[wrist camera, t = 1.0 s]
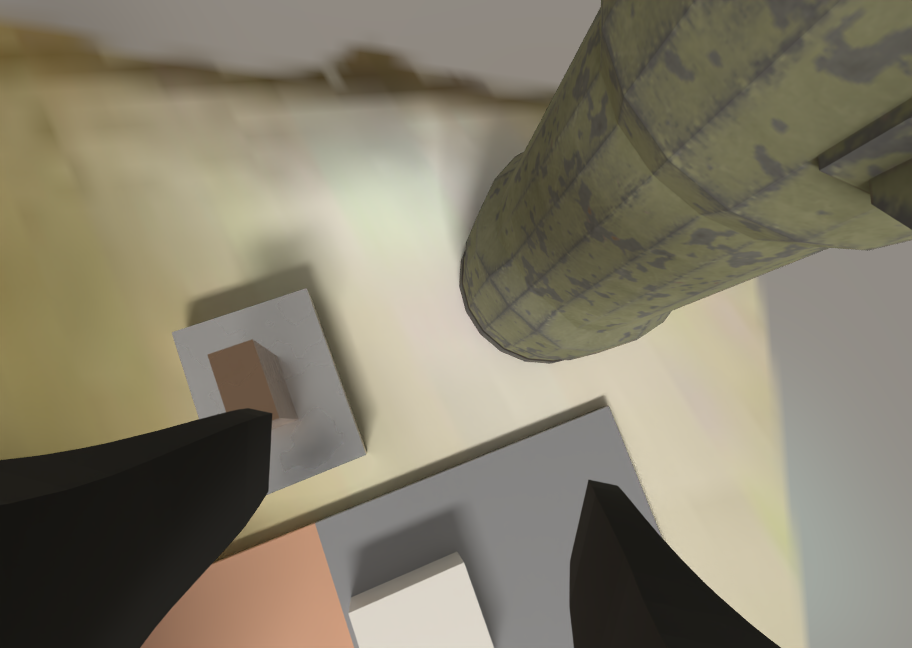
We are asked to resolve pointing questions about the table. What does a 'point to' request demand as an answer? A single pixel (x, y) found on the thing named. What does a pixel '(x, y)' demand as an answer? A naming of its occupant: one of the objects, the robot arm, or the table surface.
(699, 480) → the table surface
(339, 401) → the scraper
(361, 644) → the block
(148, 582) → the robot arm
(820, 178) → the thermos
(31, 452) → the table surface
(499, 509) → the mat
